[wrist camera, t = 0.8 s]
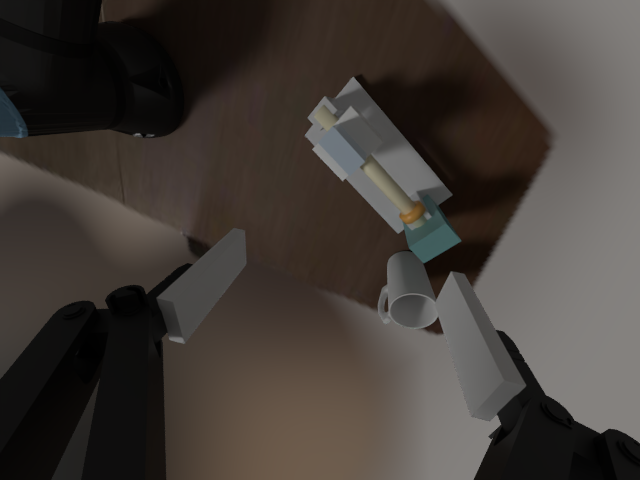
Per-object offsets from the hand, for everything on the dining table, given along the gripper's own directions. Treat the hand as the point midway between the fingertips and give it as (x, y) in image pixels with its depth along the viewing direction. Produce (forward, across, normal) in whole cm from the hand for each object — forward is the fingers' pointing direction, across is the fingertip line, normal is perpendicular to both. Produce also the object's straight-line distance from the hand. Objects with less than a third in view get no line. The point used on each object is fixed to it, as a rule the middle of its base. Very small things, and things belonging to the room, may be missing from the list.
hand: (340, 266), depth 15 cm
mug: (+26, +11, -17) cm, 33 cm away
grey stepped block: (+22, -2, +5) cm, 22 cm away
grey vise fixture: (+26, +3, +2) cm, 27 cm away
